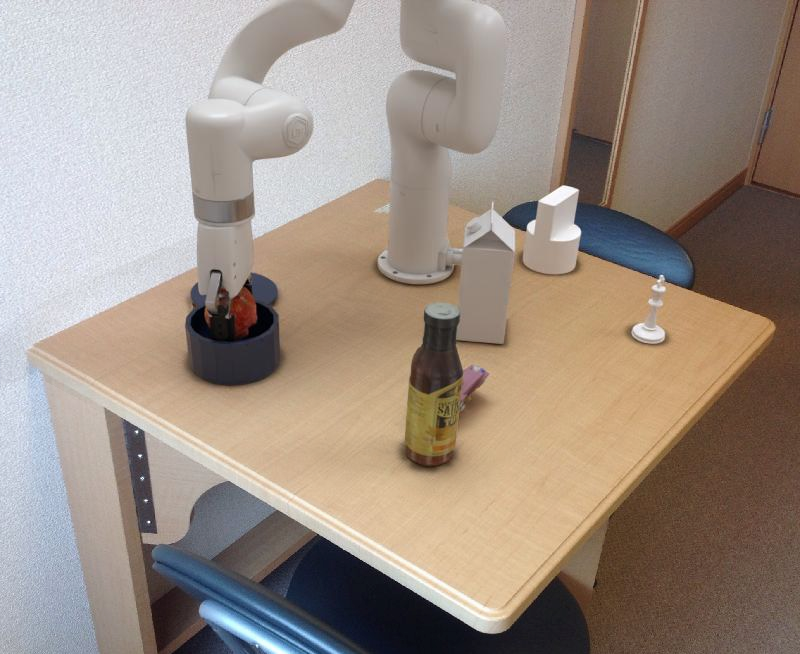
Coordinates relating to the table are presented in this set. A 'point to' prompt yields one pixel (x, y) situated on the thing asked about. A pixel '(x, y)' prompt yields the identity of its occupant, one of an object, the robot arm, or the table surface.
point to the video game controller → (471, 382)
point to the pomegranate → (240, 312)
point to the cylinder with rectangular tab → (553, 234)
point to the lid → (260, 289)
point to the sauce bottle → (434, 388)
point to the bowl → (234, 349)
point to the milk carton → (485, 278)
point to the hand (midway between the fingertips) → (233, 324)
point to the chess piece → (652, 318)
